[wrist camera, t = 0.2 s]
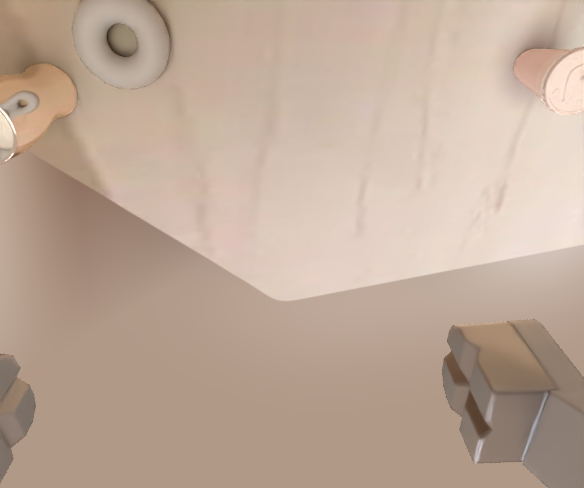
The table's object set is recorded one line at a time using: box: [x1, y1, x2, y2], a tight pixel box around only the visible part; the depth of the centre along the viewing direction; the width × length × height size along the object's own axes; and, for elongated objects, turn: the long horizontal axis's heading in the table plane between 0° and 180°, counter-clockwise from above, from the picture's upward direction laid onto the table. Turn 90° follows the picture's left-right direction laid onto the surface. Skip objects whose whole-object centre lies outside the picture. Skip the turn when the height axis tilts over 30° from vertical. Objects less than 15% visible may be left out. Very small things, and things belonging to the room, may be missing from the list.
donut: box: [72, 0, 170, 89], centre depth 47 cm, size 10×3×10 cm
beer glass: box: [0, 63, 77, 164], centre depth 45 cm, size 7×7×15 cm
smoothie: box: [514, 47, 584, 115], centre depth 46 cm, size 6×6×14 cm
